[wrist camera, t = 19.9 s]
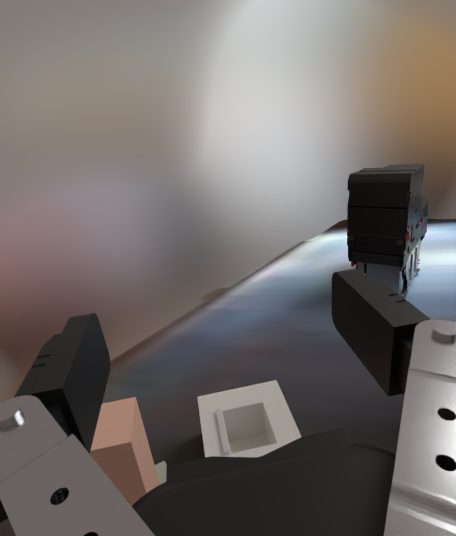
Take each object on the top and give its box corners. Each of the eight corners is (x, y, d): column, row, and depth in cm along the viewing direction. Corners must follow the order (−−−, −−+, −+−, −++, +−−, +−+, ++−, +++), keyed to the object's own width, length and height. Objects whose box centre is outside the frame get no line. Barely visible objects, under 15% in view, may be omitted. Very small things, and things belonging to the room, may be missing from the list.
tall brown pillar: (125, 507, 38) (90, 406, 32) (163, 498, 38) (135, 396, 33) (120, 560, 33) (78, 453, 28) (163, 549, 34) (130, 441, 28)
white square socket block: (204, 432, 46) (197, 394, 44) (279, 416, 47) (276, 377, 45) (217, 529, 35) (208, 485, 33) (314, 504, 36) (313, 460, 34)
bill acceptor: (424, 265, 83) (437, 153, 73) (400, 312, 66) (412, 175, 57) (377, 259, 89) (382, 154, 79) (344, 300, 73) (346, 175, 63)
